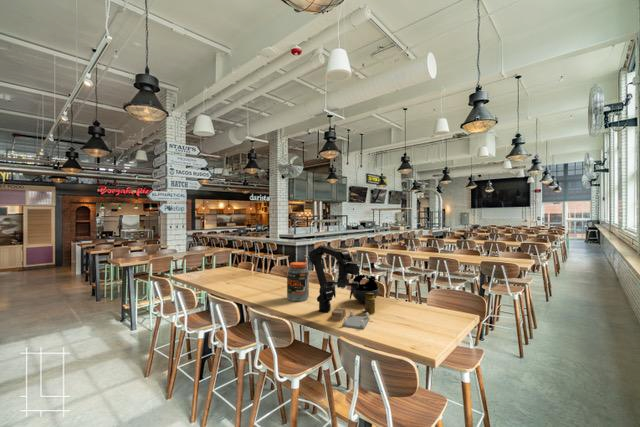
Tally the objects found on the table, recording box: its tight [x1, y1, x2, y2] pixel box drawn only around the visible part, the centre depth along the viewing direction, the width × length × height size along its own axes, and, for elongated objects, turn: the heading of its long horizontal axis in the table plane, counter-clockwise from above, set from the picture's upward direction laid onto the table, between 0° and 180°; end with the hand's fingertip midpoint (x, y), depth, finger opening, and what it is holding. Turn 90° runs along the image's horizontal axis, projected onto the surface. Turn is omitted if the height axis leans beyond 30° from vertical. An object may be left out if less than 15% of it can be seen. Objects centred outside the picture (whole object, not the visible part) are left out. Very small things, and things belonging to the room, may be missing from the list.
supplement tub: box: [286, 261, 310, 302], centre depth 215 cm, size 16×16×26 cm
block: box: [331, 306, 347, 322], centre depth 177 cm, size 10×6×4 cm, turn 161°
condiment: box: [360, 292, 378, 316], centre depth 185 cm, size 7×8×12 cm
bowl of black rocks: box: [352, 274, 380, 304], centre depth 208 cm, size 20×20×19 cm
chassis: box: [342, 310, 371, 330], centre depth 168 cm, size 16×12×4 cm
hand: (342, 298), depth 177 cm, fingers open, 9 cm apart
